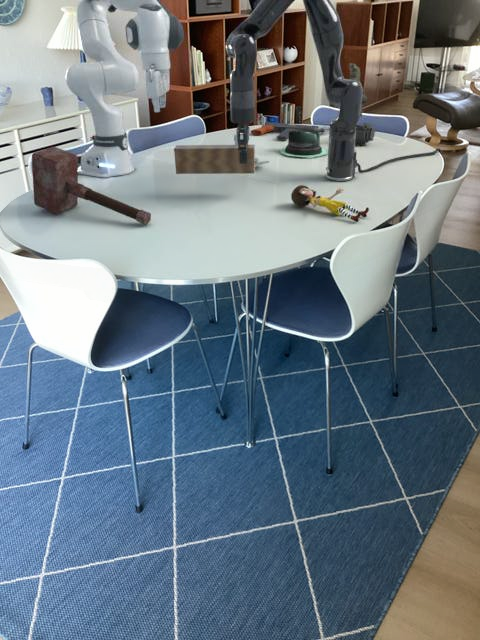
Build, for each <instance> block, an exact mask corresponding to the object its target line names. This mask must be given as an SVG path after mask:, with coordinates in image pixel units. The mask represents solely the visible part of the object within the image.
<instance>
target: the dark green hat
mask: <svg viewBox="0 0 480 640" xmlns="http://www.w3.org/2000/svg"><path fill="white" fill-rule="evenodd" d="M320 133H321V132H319V131H318V130H316V129H311V128H298V129H294V130H291V131H289V137H288V139H287V140H288V141H287V142H288V143H287V145H286V146H285V147H283V148H281V149H280V150H279V153H280V154H282V155H285V156H289V157H296V158H297V157H298V158H307V159H309V158H310V159H311V158H313V159H314V158H317V157H323V156H326V155H327V154H328V149H327V150H326V149H325V148H322V146H321V144H320V142H321V135H320Z"/></svg>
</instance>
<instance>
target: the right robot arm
mask: <svg viewBox="0 0 480 640" xmlns="http://www.w3.org/2000/svg"><path fill="white" fill-rule="evenodd" d="M295 1H296V0H261V1H260V2H258V4H257V5H256V7H255V8H254V9H253V11H252V12H251V13H250V15H249V16H248V17H247V18H246V19H244V20H243V22H241V23H240V24H239V25H238V26H237V27H236V28H234V30H233V31H232V32H231V33H230V34H229V36H228V38H227V39H226V43H225V51H226V53H227V55H228V56H229V58H232V59H235V61H234V69H231V71H230V76H229V78H230V80H229V81H230V84H229V85H230V95H229V102H230V103H229V105H230V121H231V123H233V124H238V126H237V127H236V129H235V131H236V133H237V143H238V151H239V156H240V163H241V164H245V163H246V162H247V155H246V152H247V145H249V142H250V132H251V130H250V126H249V124H251V123H253V122H255V120H256V113H255V112H256V109H255V103H256V101H255V100H256V99H255V86H254V73H255V69H256V64H257V57H258V46H257V40H258V39H259V38H262V37H265V36H266V35H267V34H268V33H269V32H270V31H271V30H272V28H273V27H274V26H275V24H276V23H277V22H278V21H279V20H280V18H281V17H282V16H283V15H284V14H285V12H286V11H287V10H288V8H289V7H290V6H291V5H292V4H293V3H294V2H295ZM302 3H303V6H304V10H305V14H306V16H307V17H306V18H307V21H308V23H309V29H310V32H311V35H312V39H313V43H314V46H315V49H316V53H317V56H318V60H319V64H320V68H321V73H322V79H323V84H324V90H325V96H326V99H327V102H328V103H329V105H330V106H332V107H334V108H337V109H339V113H338V116H337V117H336V118H332V119H331V120H330V121H329V132H328V146H327V147H328V148H327V166H325V171H326V176H325V177H326V179H328V180H330V181H333V182H348V181H351V180H353V179H354V178H355V175H356V168H357V171H358V172H359V173H367V172H370V171H373V170H376V169H379V168H380V167H381V166H384V165H387V164H389V163H392V162H396V161H401V160H405V159H411V158H417V157H424V156H432V155H435V154H436V153H437V152H439V153H441V152H442V149H441V148H440V147H437V148H436V149H435V150H433V151H431V152H423V153H415V154H409V155H402V156H398V157H394V158H390V159H387V160H385V161H381V162H380V163H378V164H376V165H374V166H371V167H368V168H365V169H362V166H361V164H360V163H359V162H358V160H357V150H355V148H356V144H355V138H356V127H357V124H358V123H359V121H360V118H361V116H360V110H361V103H362V87H363V86H362V87H361V85H360V83H359V82H357V81H355V80H350V78H345V76H344V74H343V71H342V67H341V54H342V51H343V46H344V32H343V28H342V22H341V18H340V16H339V13H338V12H337V10H336V8H335V6H334V4H333V3H332V2H331V0H302ZM236 133H235V134H236ZM241 145H244V146H245V147H241Z"/></svg>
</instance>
